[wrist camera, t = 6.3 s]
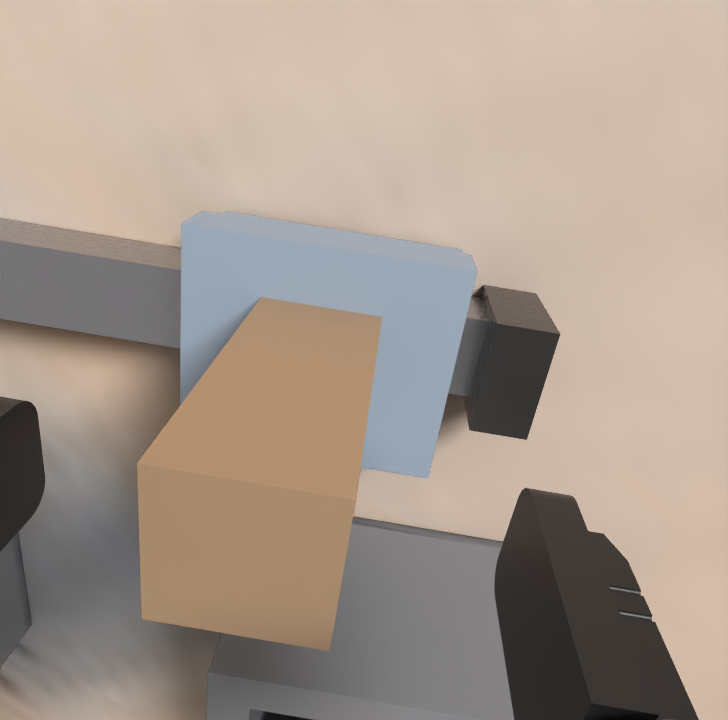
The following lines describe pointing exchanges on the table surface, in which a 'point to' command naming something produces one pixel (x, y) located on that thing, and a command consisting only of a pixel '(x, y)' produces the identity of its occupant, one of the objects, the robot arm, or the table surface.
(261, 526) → the carriage
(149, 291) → the slide rail
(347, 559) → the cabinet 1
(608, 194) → the table surface
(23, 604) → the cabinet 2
